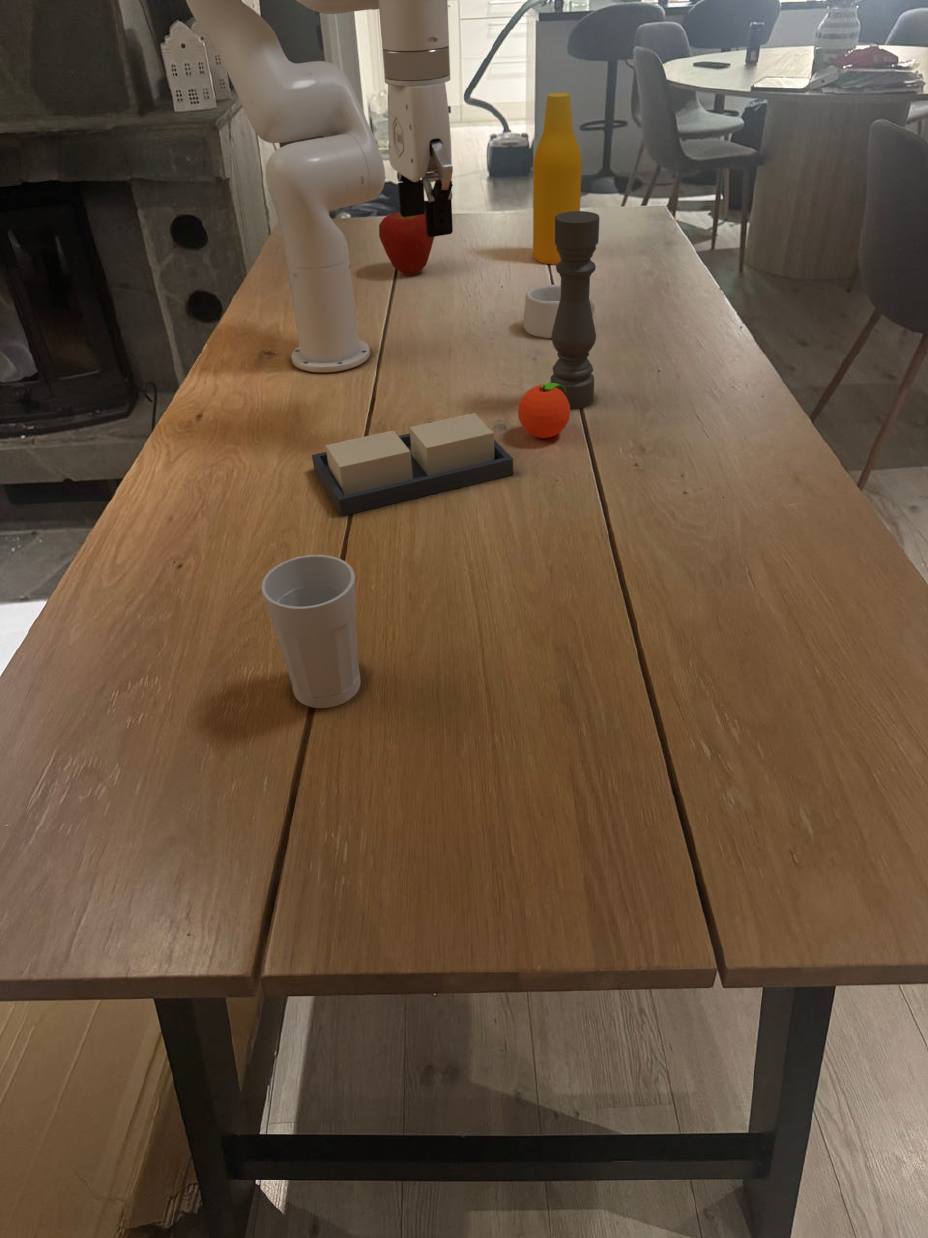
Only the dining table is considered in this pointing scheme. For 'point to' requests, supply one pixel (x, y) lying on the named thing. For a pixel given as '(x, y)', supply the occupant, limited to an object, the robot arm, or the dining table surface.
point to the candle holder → (575, 306)
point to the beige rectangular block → (452, 443)
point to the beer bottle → (554, 176)
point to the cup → (316, 627)
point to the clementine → (544, 410)
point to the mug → (543, 310)
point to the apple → (406, 242)
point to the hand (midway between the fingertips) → (425, 224)
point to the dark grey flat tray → (412, 481)
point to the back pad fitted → (369, 462)
